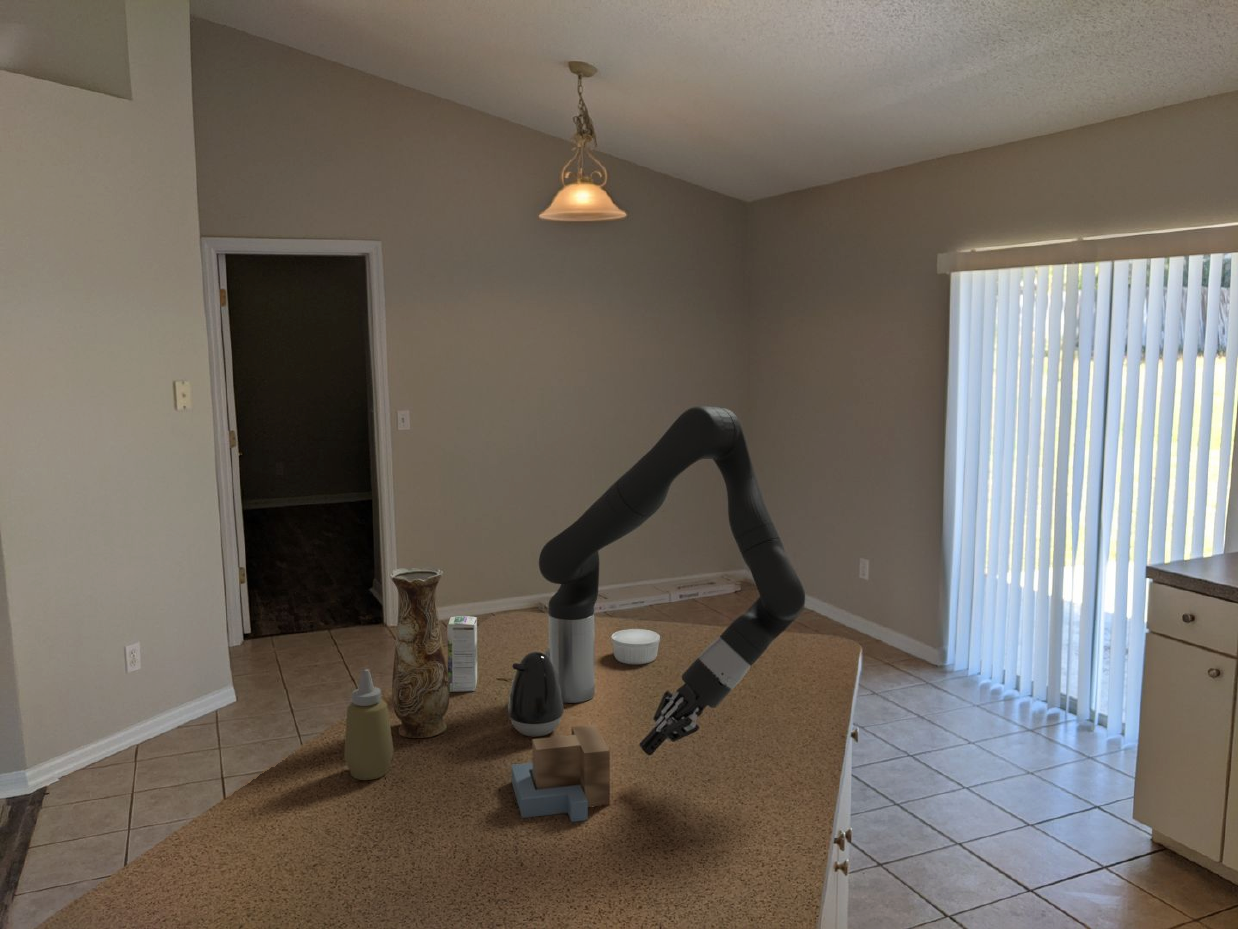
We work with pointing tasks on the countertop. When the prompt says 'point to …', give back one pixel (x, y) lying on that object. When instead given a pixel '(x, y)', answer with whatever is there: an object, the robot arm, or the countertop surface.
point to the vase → (419, 655)
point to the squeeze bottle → (368, 732)
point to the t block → (574, 763)
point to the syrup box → (462, 653)
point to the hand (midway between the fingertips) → (644, 750)
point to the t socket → (546, 796)
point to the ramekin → (635, 646)
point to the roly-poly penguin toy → (535, 696)
